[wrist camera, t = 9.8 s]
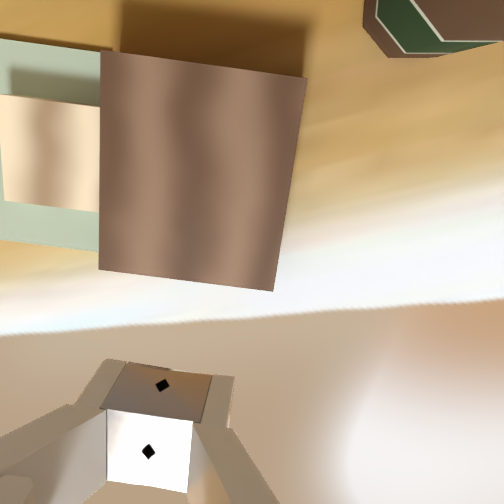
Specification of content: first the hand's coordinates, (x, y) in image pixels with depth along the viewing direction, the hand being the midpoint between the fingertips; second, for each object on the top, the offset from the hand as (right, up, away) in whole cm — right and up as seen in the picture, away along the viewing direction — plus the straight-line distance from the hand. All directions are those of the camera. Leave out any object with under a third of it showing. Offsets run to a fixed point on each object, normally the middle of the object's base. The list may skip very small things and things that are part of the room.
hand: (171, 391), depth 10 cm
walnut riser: (-2, +10, +25) cm, 27 cm away
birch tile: (-13, +11, +25) cm, 30 cm away
